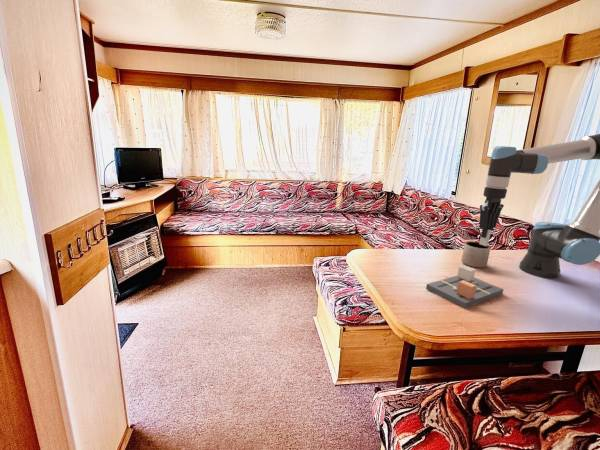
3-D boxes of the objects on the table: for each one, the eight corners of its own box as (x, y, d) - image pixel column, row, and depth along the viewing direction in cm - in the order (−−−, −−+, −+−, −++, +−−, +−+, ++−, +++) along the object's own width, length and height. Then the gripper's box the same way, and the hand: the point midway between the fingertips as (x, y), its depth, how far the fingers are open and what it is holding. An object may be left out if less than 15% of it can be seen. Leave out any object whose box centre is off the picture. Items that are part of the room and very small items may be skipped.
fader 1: (461, 275, 132) (463, 265, 131) (473, 280, 128) (475, 269, 126) (457, 276, 130) (459, 266, 129) (468, 281, 126) (471, 270, 125)
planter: (490, 269, 146) (494, 249, 143) (464, 266, 148) (468, 247, 145) (482, 261, 156) (486, 242, 153) (458, 258, 158) (461, 240, 155)
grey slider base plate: (463, 277, 135) (464, 272, 134) (502, 294, 122) (504, 287, 121) (426, 288, 123) (427, 282, 122) (464, 308, 110) (466, 301, 109)
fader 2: (461, 291, 117) (463, 279, 116) (474, 297, 113) (476, 285, 112) (456, 292, 116) (458, 281, 115) (469, 299, 112) (471, 287, 110)
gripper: (495, 185, 130) (483, 240, 136) (477, 186, 123) (465, 243, 129) (515, 188, 124) (501, 245, 130) (496, 189, 117) (483, 249, 123)
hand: (483, 244), depth 130 cm, fingers closed
